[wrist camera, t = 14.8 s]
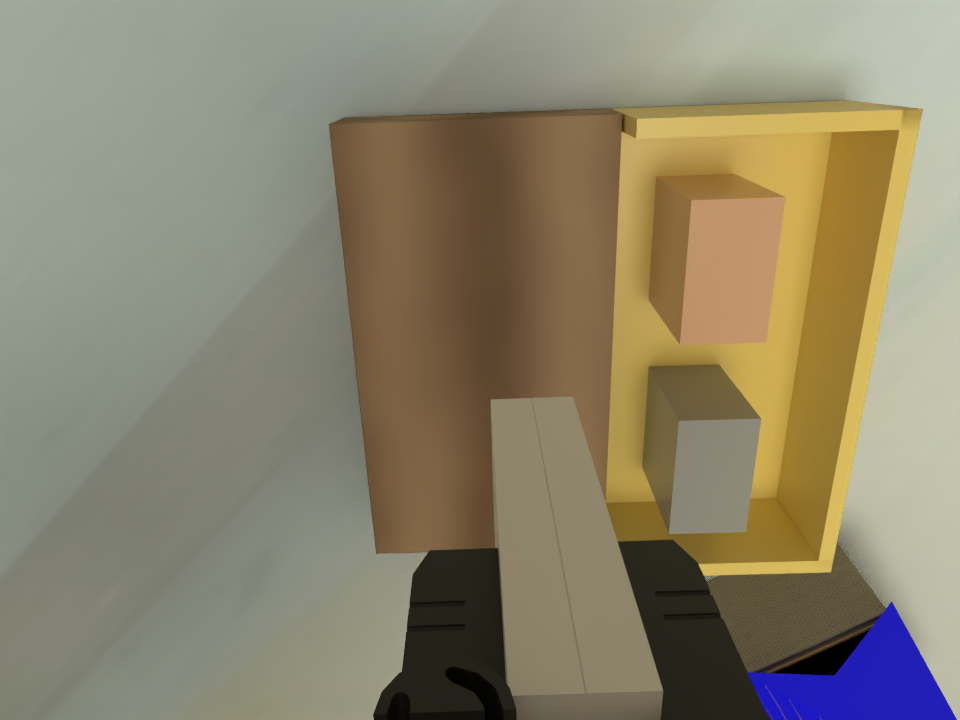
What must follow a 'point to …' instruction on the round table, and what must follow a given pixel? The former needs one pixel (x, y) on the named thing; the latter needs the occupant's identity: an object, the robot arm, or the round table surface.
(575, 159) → the walnut board
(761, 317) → the peach block
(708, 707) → the robot arm
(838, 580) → the house
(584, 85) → the round table surface
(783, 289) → the yellow tray
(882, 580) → the round table surface
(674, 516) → the grey square block
